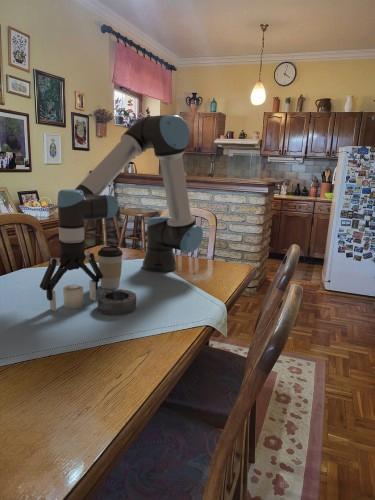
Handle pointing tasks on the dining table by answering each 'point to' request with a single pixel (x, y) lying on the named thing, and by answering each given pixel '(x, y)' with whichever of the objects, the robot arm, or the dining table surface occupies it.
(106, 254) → the coffee cup
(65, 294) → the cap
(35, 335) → the dining table surface
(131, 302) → the dark round ashtray
